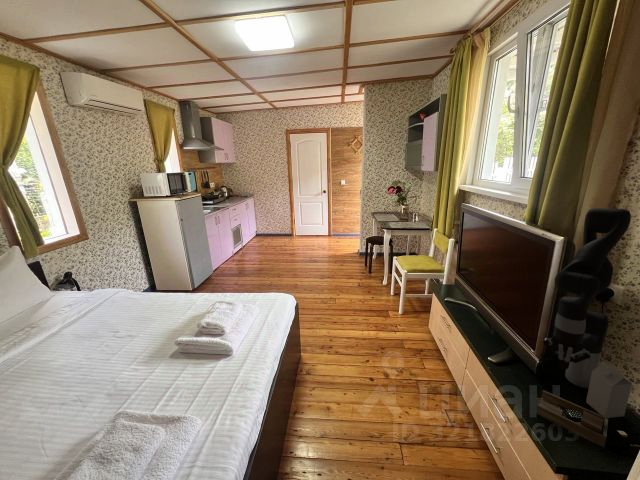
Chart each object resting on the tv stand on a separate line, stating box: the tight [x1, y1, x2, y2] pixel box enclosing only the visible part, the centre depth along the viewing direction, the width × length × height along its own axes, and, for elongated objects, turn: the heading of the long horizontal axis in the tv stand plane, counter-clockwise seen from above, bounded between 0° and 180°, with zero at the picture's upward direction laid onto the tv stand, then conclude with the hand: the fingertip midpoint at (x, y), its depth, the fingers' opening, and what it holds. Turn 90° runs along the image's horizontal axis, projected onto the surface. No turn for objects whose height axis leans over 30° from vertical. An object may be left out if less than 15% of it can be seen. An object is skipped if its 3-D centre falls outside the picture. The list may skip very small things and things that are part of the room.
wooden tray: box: [535, 389, 609, 448], centre depth 97 cm, size 10×18×4 cm, turn 41°
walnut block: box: [580, 411, 604, 434], centre depth 92 cm, size 5×5×4 cm
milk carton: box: [585, 361, 633, 419], centre depth 97 cm, size 7×7×19 cm
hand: (562, 367), depth 95 cm, fingers closed
